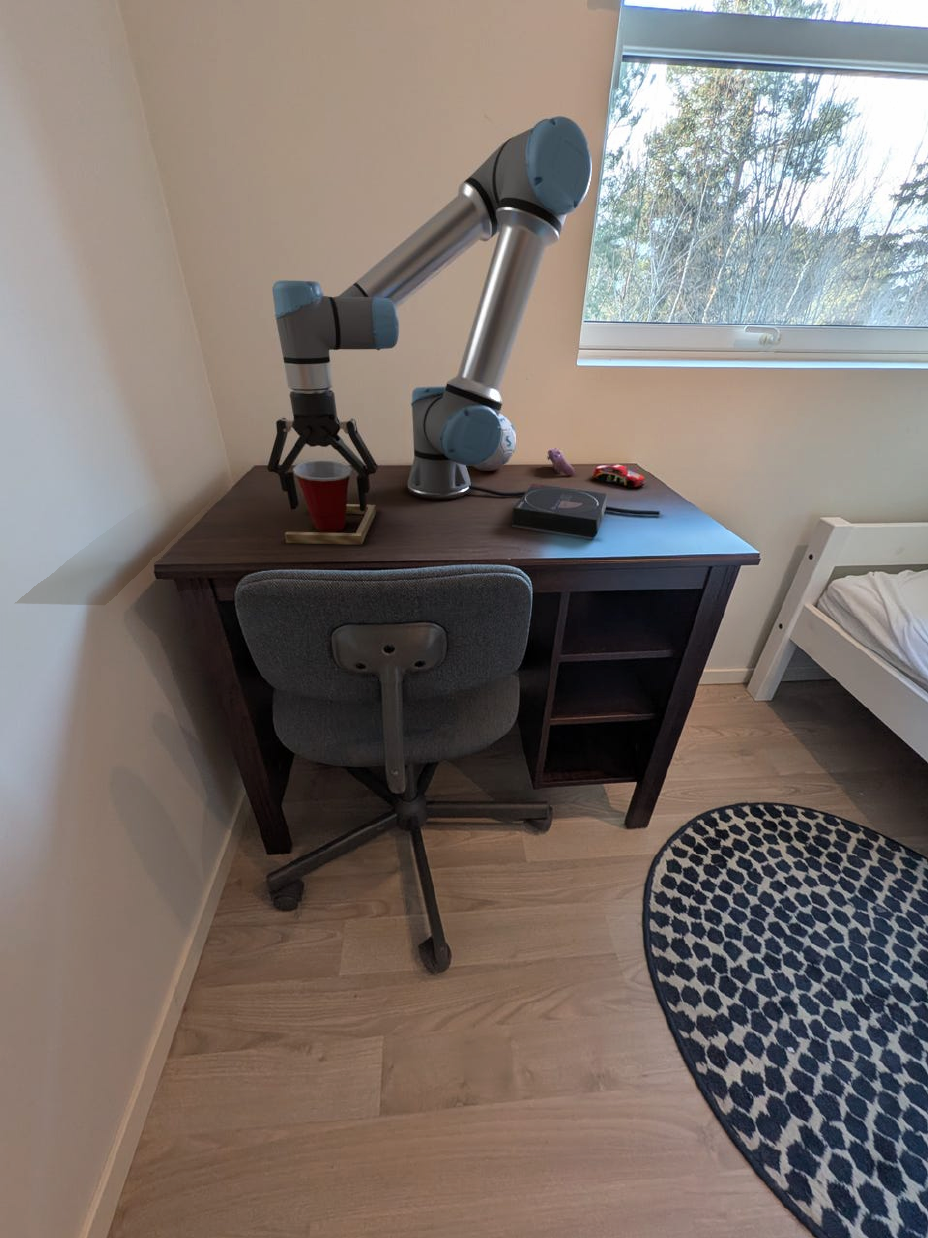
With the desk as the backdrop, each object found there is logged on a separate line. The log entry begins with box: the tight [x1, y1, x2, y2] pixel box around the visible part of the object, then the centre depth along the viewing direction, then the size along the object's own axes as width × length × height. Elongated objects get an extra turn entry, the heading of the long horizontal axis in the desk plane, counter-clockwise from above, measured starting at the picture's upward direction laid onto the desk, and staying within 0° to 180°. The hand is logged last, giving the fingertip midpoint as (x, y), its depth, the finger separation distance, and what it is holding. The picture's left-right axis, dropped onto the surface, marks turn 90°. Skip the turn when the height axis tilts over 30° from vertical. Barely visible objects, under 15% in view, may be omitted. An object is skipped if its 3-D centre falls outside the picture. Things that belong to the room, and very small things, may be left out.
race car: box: [593, 463, 646, 489], centre depth 122 cm, size 13×5×4 cm, turn 50°
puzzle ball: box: [472, 412, 517, 472], centre depth 127 cm, size 15×15×15 cm
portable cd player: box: [511, 483, 608, 540], centre depth 101 cm, size 16×17×4 cm
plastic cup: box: [292, 460, 353, 533], centre depth 93 cm, size 11×11×12 cm
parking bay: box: [284, 503, 377, 546], centre depth 96 cm, size 14×16×2 cm
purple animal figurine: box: [546, 447, 575, 476], centre depth 130 cm, size 10×5×7 cm, turn 5°
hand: (329, 507), depth 94 cm, fingers open, 13 cm apart
